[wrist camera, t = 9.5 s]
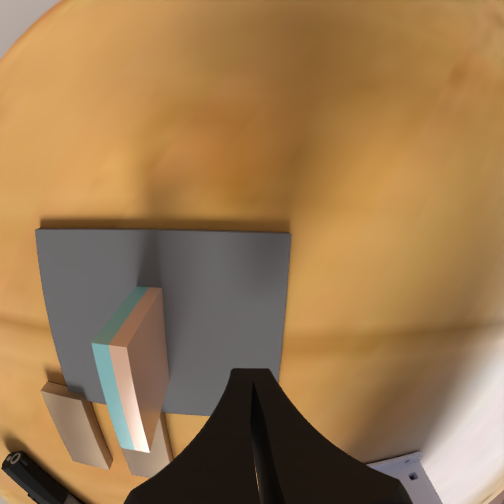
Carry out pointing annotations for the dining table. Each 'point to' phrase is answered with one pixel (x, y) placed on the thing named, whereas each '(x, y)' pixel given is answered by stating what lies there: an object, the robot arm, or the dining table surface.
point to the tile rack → (100, 434)
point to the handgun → (35, 480)
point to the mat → (169, 302)
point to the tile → (134, 367)
